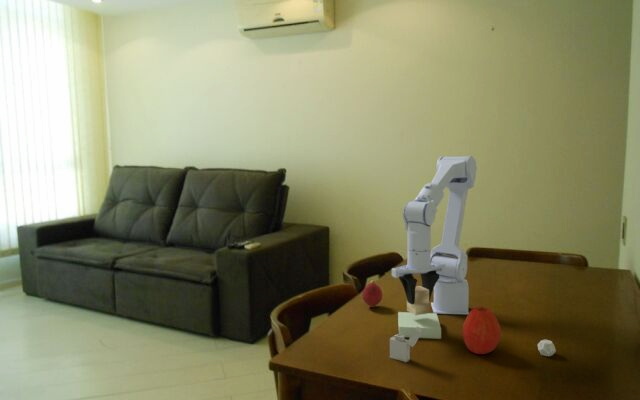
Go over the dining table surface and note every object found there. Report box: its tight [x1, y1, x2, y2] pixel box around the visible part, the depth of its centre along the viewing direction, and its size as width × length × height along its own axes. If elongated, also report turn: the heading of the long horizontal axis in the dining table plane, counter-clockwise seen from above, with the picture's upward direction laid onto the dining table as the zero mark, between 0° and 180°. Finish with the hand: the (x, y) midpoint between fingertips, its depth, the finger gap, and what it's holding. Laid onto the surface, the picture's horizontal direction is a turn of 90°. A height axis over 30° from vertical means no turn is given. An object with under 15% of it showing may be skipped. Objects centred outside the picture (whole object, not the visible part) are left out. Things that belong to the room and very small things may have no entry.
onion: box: [361, 279, 383, 308], centre depth 129 cm, size 6×6×8 cm
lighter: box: [389, 326, 423, 363], centre depth 96 cm, size 7×2×8 cm, turn 54°
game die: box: [537, 338, 557, 357], centre depth 98 cm, size 4×4×3 cm
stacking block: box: [397, 311, 442, 340], centre depth 113 cm, size 10×10×3 cm
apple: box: [462, 305, 502, 355], centre depth 99 cm, size 8×8×11 cm
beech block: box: [406, 285, 430, 315], centre depth 112 cm, size 4×4×6 cm
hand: (418, 301), depth 112 cm, fingers closed on beech block, 4 cm apart
